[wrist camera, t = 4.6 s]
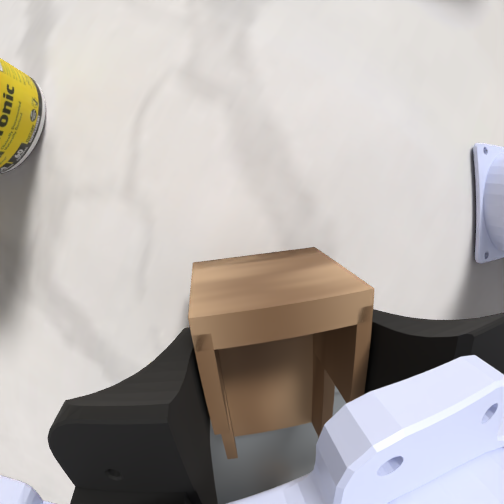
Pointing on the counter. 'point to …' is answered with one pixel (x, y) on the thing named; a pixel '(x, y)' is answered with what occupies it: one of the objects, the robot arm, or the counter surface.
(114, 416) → the robot arm
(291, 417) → the box
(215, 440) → the tray
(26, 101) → the supplement bottle
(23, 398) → the counter surface
